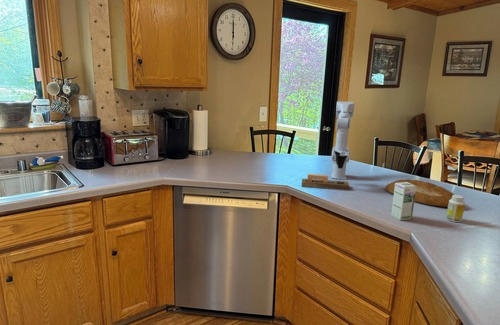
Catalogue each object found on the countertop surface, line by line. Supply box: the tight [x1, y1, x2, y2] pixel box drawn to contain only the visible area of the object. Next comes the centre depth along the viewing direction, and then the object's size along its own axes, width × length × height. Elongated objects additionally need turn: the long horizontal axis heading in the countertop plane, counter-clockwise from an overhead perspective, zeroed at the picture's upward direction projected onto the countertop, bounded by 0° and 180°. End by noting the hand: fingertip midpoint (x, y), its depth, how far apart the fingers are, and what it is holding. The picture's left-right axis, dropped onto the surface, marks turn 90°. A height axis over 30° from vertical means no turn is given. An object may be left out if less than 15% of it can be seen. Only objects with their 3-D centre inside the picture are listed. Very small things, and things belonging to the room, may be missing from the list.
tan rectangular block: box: [306, 173, 329, 183], centre depth 176 cm, size 2×10×6 cm, turn 78°
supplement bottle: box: [445, 194, 466, 223], centre depth 136 cm, size 6×6×10 cm
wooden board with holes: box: [301, 178, 350, 191], centre depth 176 cm, size 7×24×2 cm, turn 81°
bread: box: [384, 178, 455, 208], centre depth 161 cm, size 18×35×9 cm, turn 43°
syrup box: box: [390, 182, 416, 221], centre depth 136 cm, size 6×6×14 cm
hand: (339, 166), depth 176 cm, fingers open, 7 cm apart
